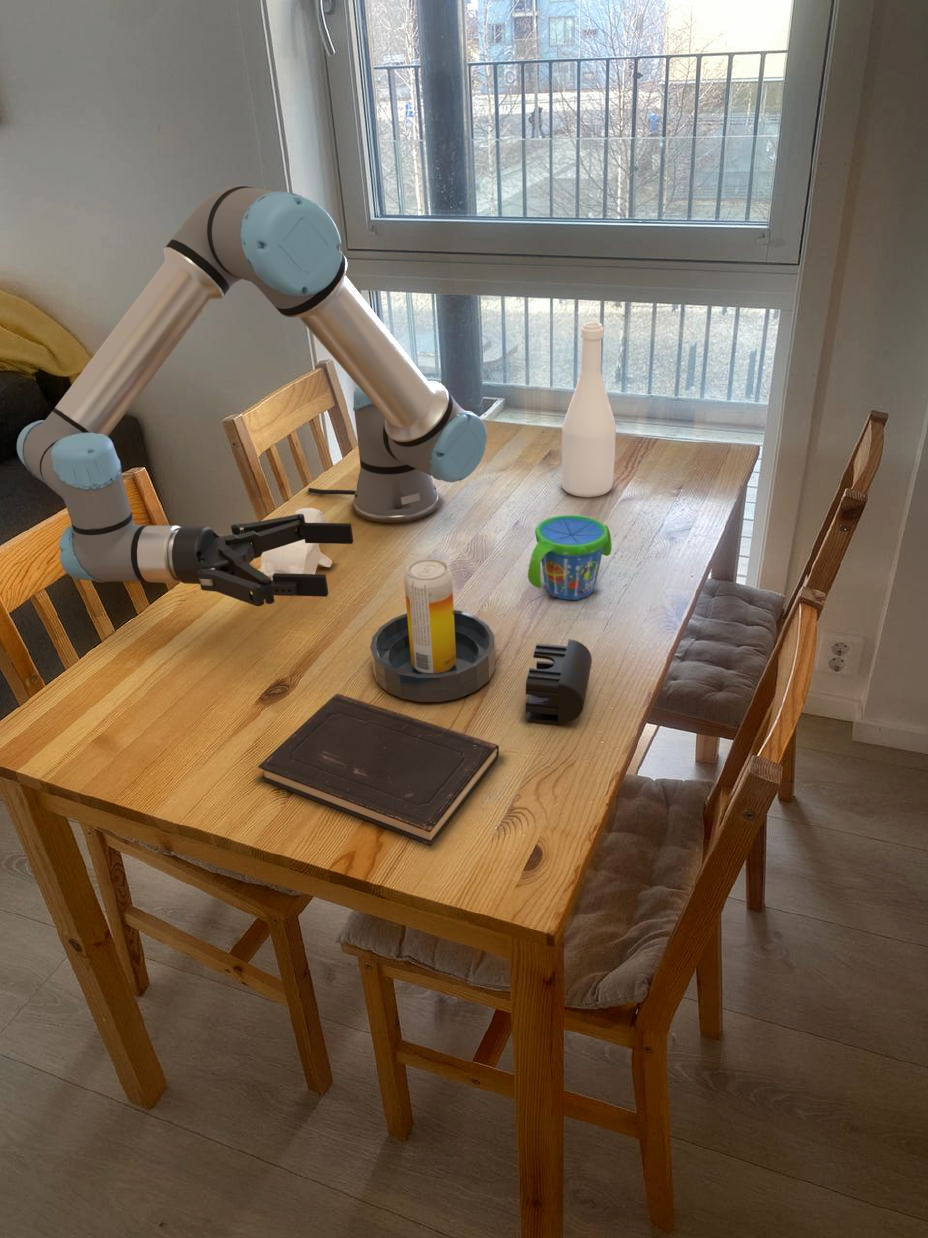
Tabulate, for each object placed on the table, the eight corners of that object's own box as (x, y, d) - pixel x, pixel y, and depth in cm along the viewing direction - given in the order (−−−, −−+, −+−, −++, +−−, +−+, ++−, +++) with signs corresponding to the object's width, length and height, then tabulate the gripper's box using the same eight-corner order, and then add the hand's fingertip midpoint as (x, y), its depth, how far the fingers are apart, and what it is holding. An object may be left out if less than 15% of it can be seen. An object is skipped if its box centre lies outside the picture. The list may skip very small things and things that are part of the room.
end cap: (582, 731, 115) (584, 686, 112) (525, 724, 117) (525, 680, 113) (591, 683, 124) (592, 640, 120) (537, 678, 125) (537, 635, 121)
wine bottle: (583, 473, 181) (588, 313, 165) (623, 486, 175) (632, 322, 159) (550, 489, 175) (552, 325, 159) (590, 503, 169) (596, 335, 153)
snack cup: (587, 560, 151) (589, 503, 146) (632, 587, 144) (635, 527, 138) (508, 591, 144) (507, 531, 139) (551, 620, 137) (551, 558, 131)
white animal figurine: (314, 606, 149) (345, 535, 157) (298, 572, 142) (332, 499, 150) (265, 599, 151) (299, 529, 159) (247, 565, 144) (284, 494, 152)
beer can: (462, 656, 129) (457, 559, 121) (447, 681, 124) (441, 582, 116) (421, 649, 131) (413, 554, 123) (404, 674, 126) (396, 576, 118)
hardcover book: (430, 846, 100) (429, 830, 99) (261, 780, 110) (258, 765, 109) (499, 757, 112) (499, 742, 111) (340, 705, 122) (338, 690, 120)
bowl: (348, 678, 127) (345, 650, 124) (426, 623, 138) (424, 596, 135) (444, 721, 118) (442, 692, 116) (519, 659, 129) (518, 631, 126)
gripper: (219, 535, 136) (363, 538, 133) (149, 631, 115) (318, 637, 112) (209, 488, 132) (358, 490, 129) (135, 577, 111) (310, 582, 108)
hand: (340, 558), depth 121 cm, fingers open, 13 cm apart
